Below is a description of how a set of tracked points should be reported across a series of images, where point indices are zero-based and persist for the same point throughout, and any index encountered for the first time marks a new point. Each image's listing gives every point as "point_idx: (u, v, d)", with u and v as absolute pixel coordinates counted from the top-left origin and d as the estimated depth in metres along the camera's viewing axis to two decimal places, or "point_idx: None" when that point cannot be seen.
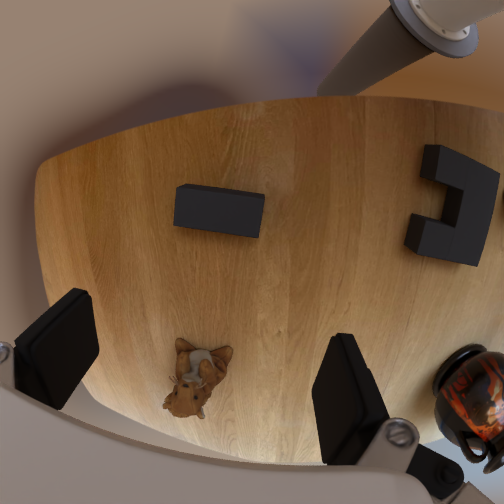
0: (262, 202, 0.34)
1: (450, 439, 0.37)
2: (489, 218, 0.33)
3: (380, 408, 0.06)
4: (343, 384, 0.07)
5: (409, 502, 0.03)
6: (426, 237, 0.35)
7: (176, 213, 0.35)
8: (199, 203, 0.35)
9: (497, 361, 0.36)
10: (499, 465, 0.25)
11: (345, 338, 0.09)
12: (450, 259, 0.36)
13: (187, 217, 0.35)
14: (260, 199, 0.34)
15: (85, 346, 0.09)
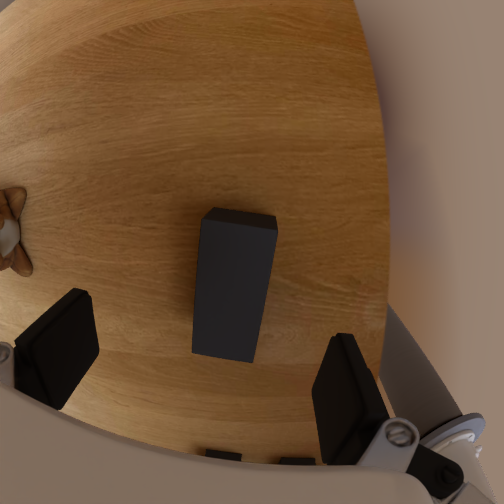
0: (247, 360, 0.22)
1: None
2: None
3: (380, 409, 0.06)
4: (343, 384, 0.07)
5: (409, 502, 0.03)
6: None
7: (226, 227, 0.18)
8: (245, 272, 0.19)
9: None
10: None
11: (345, 338, 0.09)
12: None
13: (219, 247, 0.19)
14: (252, 358, 0.22)
15: (85, 346, 0.09)
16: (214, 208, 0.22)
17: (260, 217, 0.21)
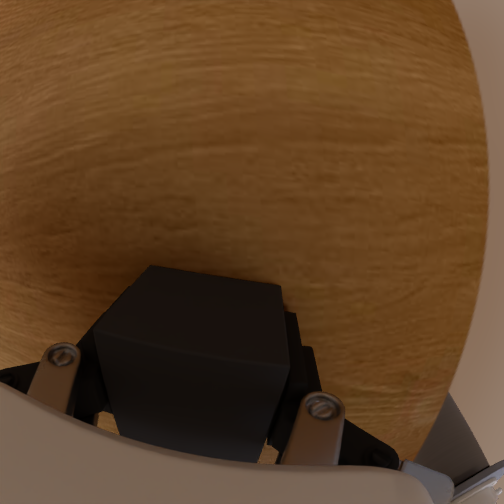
0: None
1: None
2: None
3: (304, 379, 0.07)
4: None
5: (409, 502, 0.03)
6: None
7: (153, 354, 0.06)
8: (212, 432, 0.07)
9: None
10: None
11: (286, 316, 0.10)
12: None
13: (145, 390, 0.07)
14: None
15: None
16: (149, 270, 0.10)
17: (246, 297, 0.09)
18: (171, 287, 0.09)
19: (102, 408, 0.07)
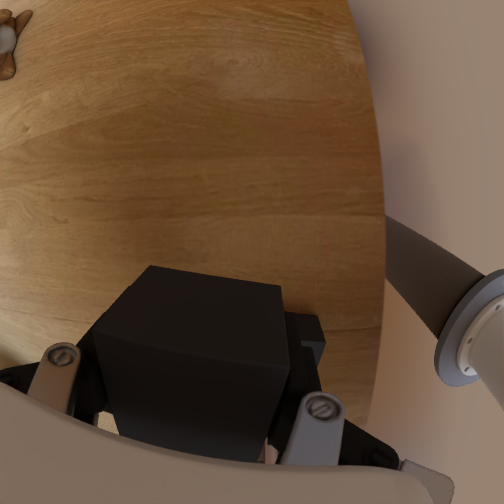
0: None
1: None
2: None
3: (304, 380, 0.07)
4: None
5: (409, 502, 0.03)
6: None
7: (152, 355, 0.06)
8: (212, 433, 0.07)
9: None
10: None
11: (286, 316, 0.10)
12: None
13: (144, 390, 0.07)
14: None
15: None
16: (148, 270, 0.10)
17: (246, 297, 0.09)
18: (171, 287, 0.09)
19: (102, 408, 0.07)
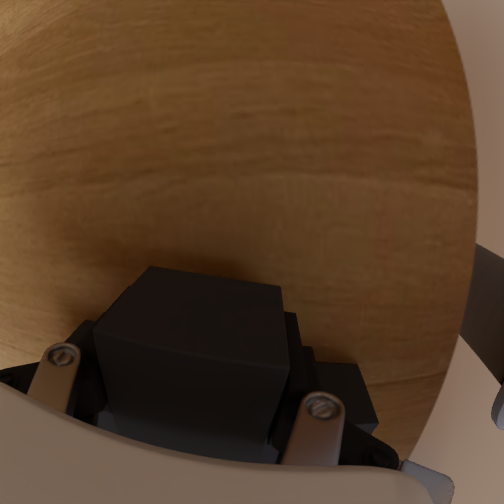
0: None
1: None
2: None
3: (304, 380, 0.07)
4: None
5: (409, 502, 0.03)
6: None
7: (153, 355, 0.06)
8: (212, 433, 0.07)
9: None
10: None
11: (286, 316, 0.10)
12: None
13: (144, 391, 0.07)
14: None
15: None
16: (149, 270, 0.10)
17: (246, 298, 0.09)
18: (171, 288, 0.09)
19: (102, 408, 0.07)
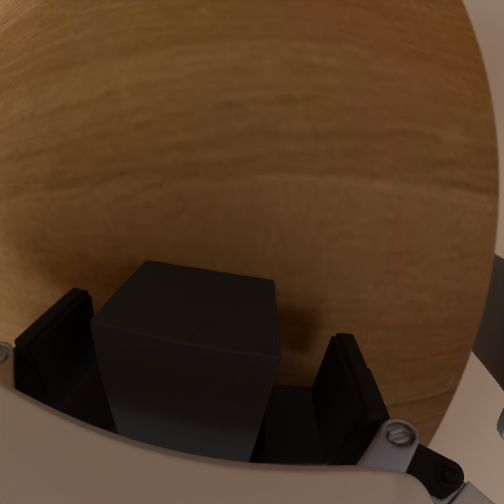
0: None
1: None
2: None
3: (381, 408, 0.06)
4: (343, 384, 0.07)
5: (409, 502, 0.03)
6: None
7: (147, 345, 0.07)
8: (206, 424, 0.08)
9: None
10: None
11: (345, 338, 0.09)
12: None
13: (140, 381, 0.07)
14: None
15: (85, 346, 0.09)
16: (145, 265, 0.10)
17: (240, 291, 0.09)
18: (166, 281, 0.09)
19: None
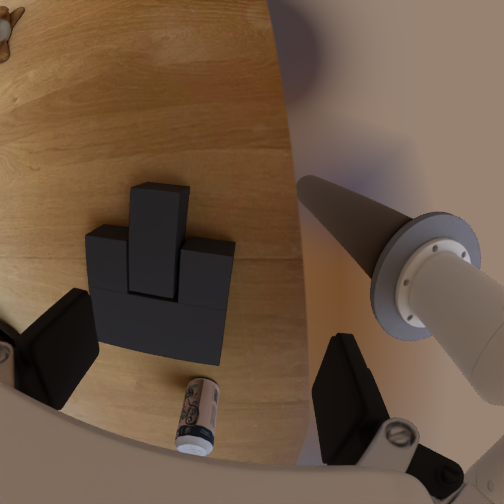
0: (169, 296, 0.29)
1: None
2: (155, 351, 0.31)
3: (381, 408, 0.06)
4: (343, 384, 0.07)
5: (409, 502, 0.03)
6: (106, 246, 0.27)
7: (146, 192, 0.25)
8: (160, 224, 0.26)
9: None
10: None
11: (345, 338, 0.09)
12: (91, 293, 0.29)
13: (142, 206, 0.26)
14: (172, 294, 0.29)
15: (85, 346, 0.09)
16: (146, 182, 0.29)
17: (176, 186, 0.28)
18: (153, 184, 0.28)
19: None
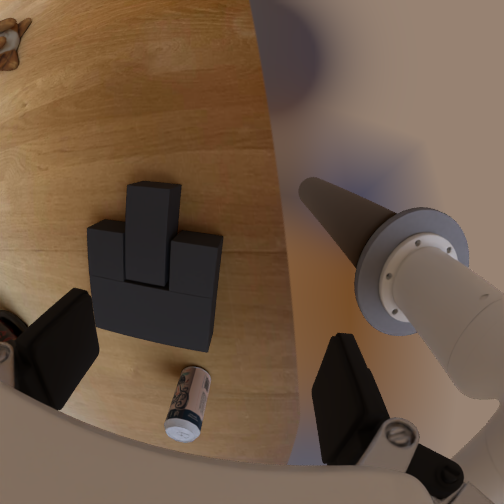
0: (160, 284, 0.31)
1: None
2: (149, 337, 0.34)
3: (380, 409, 0.06)
4: (343, 384, 0.07)
5: (409, 502, 0.03)
6: (105, 238, 0.30)
7: (140, 189, 0.28)
8: (152, 217, 0.29)
9: None
10: None
11: (345, 338, 0.09)
12: (91, 281, 0.32)
13: (137, 202, 0.28)
14: (163, 282, 0.31)
15: (85, 346, 0.09)
16: (142, 181, 0.32)
17: (168, 184, 0.31)
18: (148, 182, 0.31)
19: None
